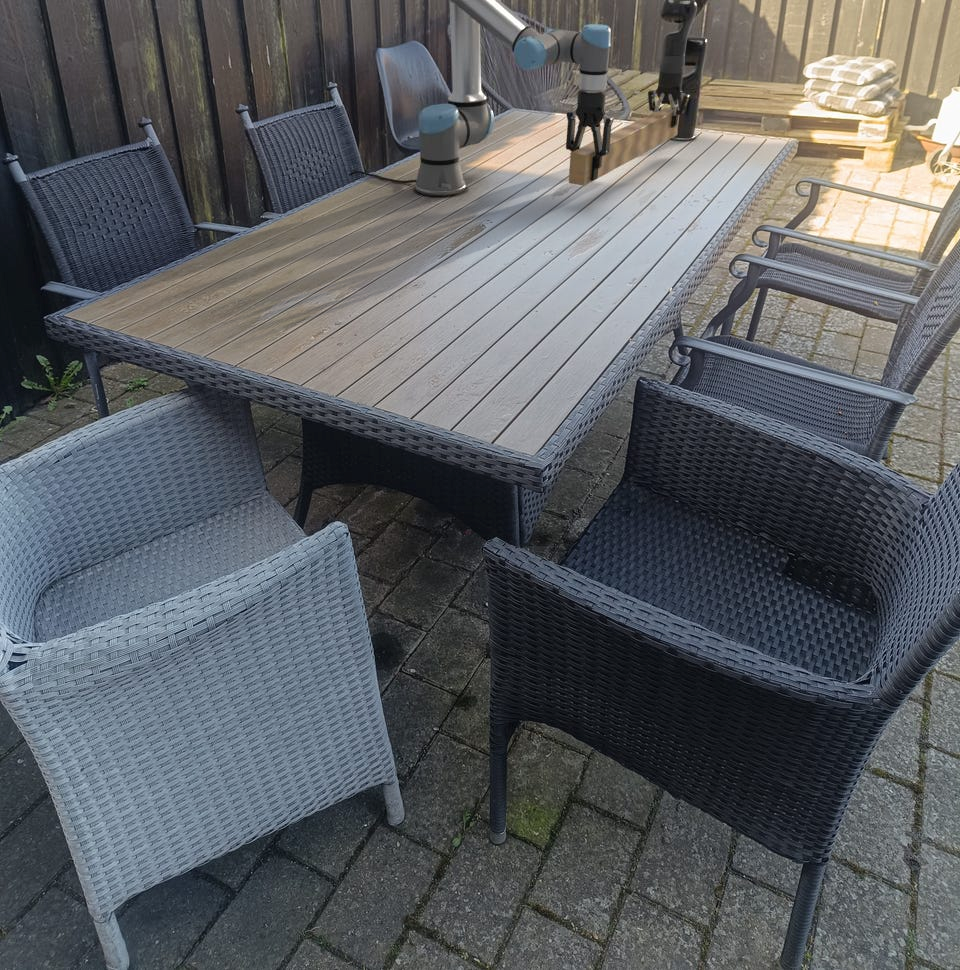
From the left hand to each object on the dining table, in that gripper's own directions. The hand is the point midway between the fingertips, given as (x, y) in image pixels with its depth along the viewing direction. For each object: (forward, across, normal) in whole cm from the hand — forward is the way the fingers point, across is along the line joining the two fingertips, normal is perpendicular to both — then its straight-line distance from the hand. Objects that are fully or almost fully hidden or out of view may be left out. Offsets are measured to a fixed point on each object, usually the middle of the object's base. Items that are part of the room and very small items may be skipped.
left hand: (585, 177), depth 241 cm
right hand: (-3, 0, -57) cm, 57 cm away
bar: (+1, 0, -28) cm, 28 cm away
